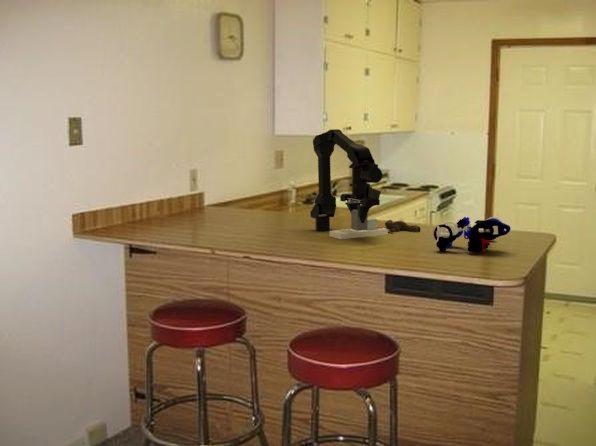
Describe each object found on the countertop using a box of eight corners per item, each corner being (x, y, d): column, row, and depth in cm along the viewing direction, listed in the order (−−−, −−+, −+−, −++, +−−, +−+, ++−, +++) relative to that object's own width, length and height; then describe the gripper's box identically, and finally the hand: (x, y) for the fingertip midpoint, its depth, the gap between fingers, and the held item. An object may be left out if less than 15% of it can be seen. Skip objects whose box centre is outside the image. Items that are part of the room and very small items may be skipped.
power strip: (340, 241, 262) (340, 232, 261) (329, 238, 269) (329, 229, 268) (387, 236, 272) (387, 227, 271) (376, 233, 279) (376, 224, 278)
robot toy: (442, 214, 252) (513, 216, 241) (442, 246, 254) (512, 249, 243) (431, 220, 238) (505, 222, 227) (431, 254, 240) (505, 257, 229)
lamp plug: (361, 233, 273) (361, 218, 272) (370, 232, 275) (371, 217, 275) (367, 235, 270) (368, 220, 269) (377, 234, 272) (377, 219, 271)
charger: (351, 229, 261) (351, 209, 260) (360, 228, 263) (361, 208, 262) (357, 230, 257) (357, 211, 256) (367, 229, 259) (367, 210, 258)
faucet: (424, 233, 280) (405, 242, 269) (388, 227, 291) (369, 236, 279) (424, 221, 279) (405, 231, 268) (388, 216, 289) (369, 224, 278)
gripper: (392, 181, 253) (391, 223, 256) (363, 177, 269) (363, 217, 272) (366, 183, 248) (366, 226, 250) (339, 179, 264) (339, 219, 267)
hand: (359, 222), depth 260 cm, fingers closed on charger, 4 cm apart
